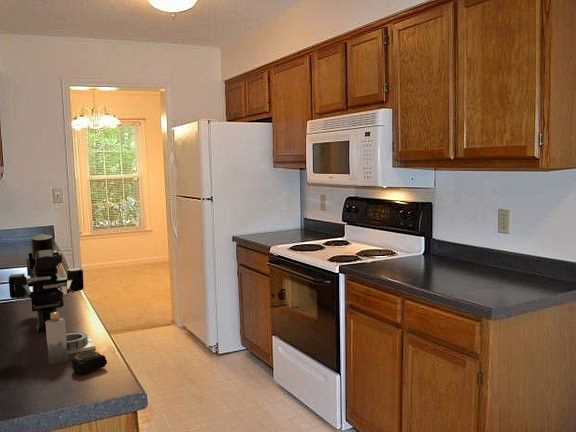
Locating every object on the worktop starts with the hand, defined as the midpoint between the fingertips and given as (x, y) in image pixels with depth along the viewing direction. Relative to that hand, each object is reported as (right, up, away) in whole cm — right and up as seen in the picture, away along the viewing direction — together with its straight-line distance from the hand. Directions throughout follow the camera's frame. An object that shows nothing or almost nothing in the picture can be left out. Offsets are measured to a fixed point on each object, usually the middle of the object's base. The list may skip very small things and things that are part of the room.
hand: (49, 293), depth 144 cm
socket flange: (+4, -15, +5) cm, 16 cm away
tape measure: (+15, -17, -12) cm, 26 cm away
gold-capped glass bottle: (+5, -16, -5) cm, 18 cm away
